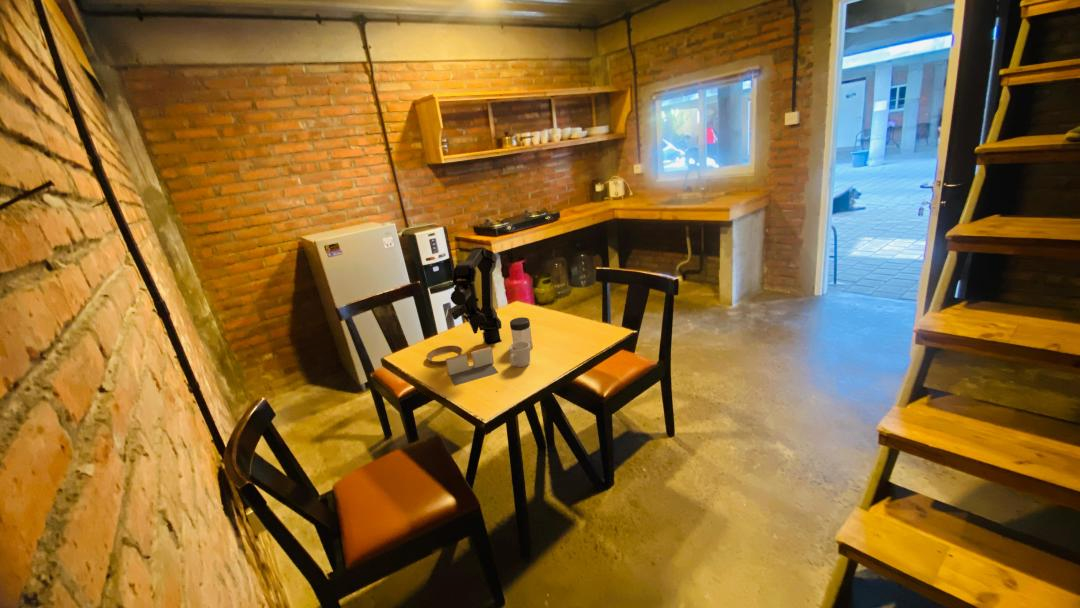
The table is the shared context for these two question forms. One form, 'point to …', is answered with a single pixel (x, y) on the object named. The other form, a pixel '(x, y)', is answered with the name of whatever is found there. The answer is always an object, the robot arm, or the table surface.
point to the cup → (520, 354)
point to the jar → (521, 330)
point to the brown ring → (443, 351)
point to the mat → (473, 374)
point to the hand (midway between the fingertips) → (475, 333)
